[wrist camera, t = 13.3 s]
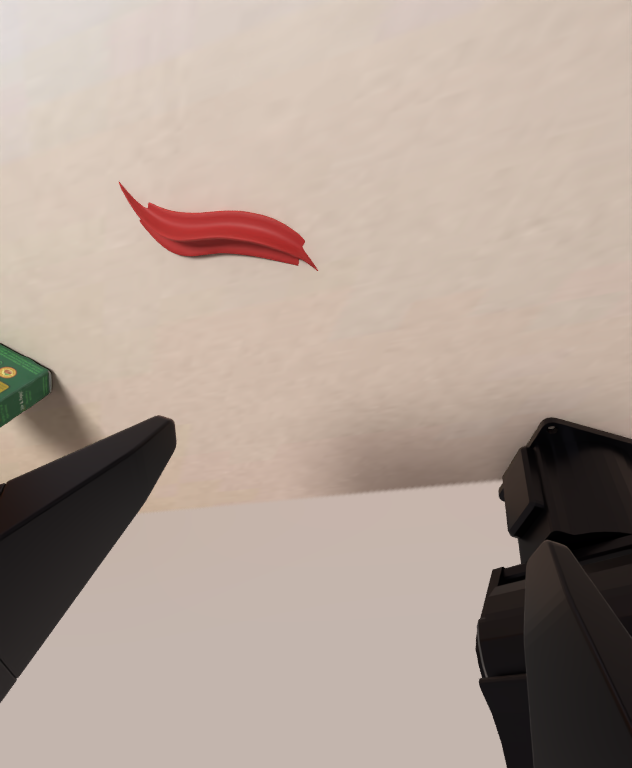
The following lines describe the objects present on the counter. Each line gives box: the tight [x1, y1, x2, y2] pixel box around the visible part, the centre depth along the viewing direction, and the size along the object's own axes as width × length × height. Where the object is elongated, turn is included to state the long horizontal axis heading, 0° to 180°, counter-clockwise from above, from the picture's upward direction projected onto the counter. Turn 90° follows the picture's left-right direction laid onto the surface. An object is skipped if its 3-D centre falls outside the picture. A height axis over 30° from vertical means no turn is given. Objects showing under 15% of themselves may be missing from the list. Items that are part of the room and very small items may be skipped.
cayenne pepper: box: [119, 182, 318, 271], centre depth 21 cm, size 12×5×2 cm, turn 64°
